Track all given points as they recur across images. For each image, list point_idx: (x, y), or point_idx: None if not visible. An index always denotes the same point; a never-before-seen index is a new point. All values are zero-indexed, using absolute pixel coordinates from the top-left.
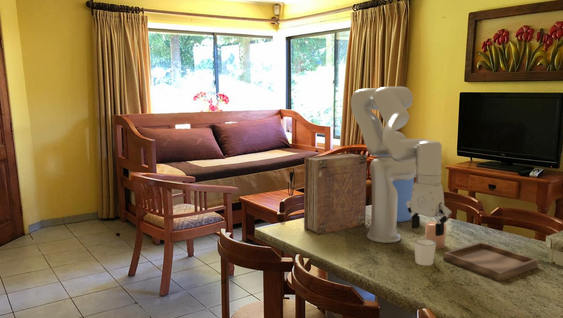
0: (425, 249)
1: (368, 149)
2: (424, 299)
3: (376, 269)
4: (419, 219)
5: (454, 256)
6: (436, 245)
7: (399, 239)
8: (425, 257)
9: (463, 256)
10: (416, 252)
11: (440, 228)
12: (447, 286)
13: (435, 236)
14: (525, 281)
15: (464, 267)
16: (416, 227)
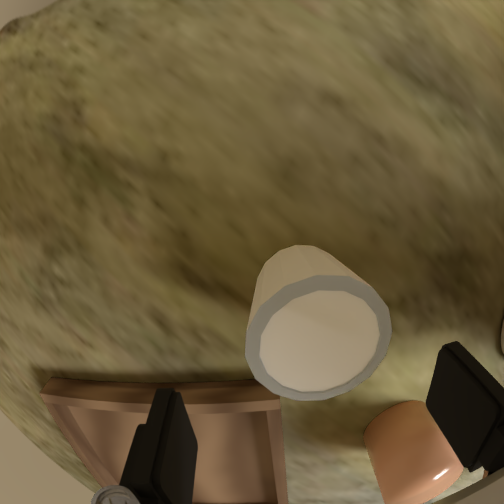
0: (265, 292)
1: None
2: (24, 44)
3: (333, 14)
4: (455, 450)
5: (219, 404)
6: (379, 426)
7: (502, 344)
8: (264, 275)
9: (247, 440)
10: (322, 258)
11: (128, 455)
12: (49, 187)
13: (395, 449)
14: (50, 421)
15: (171, 384)
16: (435, 381)
